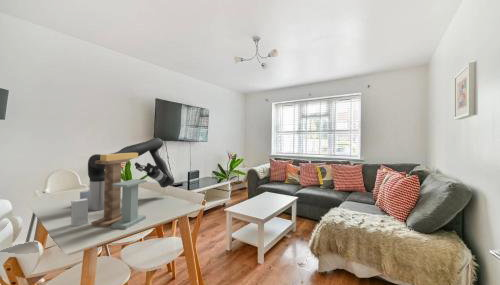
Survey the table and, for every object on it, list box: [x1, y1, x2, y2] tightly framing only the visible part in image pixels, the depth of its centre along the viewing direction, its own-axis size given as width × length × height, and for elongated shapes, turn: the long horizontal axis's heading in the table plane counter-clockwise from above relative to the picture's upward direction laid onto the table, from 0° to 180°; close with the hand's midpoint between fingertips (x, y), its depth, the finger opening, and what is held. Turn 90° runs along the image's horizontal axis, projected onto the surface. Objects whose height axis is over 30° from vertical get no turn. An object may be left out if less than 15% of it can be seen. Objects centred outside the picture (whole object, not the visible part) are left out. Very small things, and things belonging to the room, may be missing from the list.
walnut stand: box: [90, 159, 130, 228], centre depth 107 cm, size 10×14×32 cm
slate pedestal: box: [111, 178, 148, 230], centre depth 105 cm, size 8×14×21 cm, turn 170°
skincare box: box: [70, 198, 89, 227], centre depth 102 cm, size 6×4×12 cm
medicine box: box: [79, 189, 90, 200], centre depth 134 cm, size 8×4×9 cm, turn 168°
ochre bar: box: [100, 153, 139, 161], centre depth 112 cm, size 4×22×3 cm, turn 170°
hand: (141, 164), depth 128 cm, fingers open, 8 cm apart
